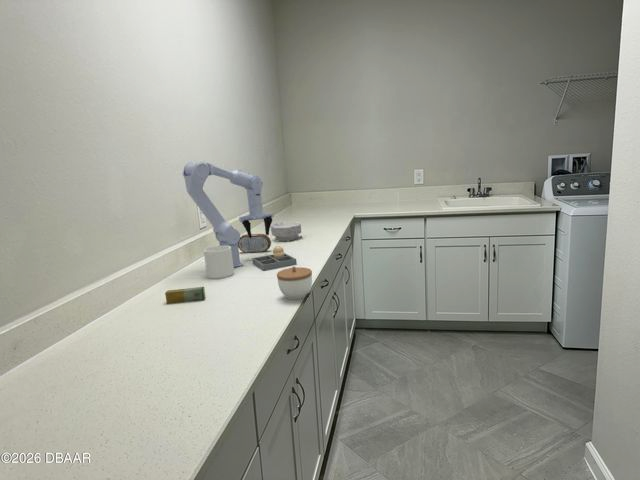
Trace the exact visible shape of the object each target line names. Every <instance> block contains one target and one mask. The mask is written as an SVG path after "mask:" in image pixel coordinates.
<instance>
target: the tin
mask: <svg viewBox="0 0 640 480" xmlns="http://www.w3.org/2000/svg"><path fill="white" fill-rule="evenodd" d="M251 236H252V238H249V237H248V233H247V234H243V235H240V240H239V242H238V249H239V250H240V251H241V252H242V253H244V254H253V253H254V254H255V253H256V254H257V253H265V252H267V251H269V249H270V248H271V245H272V241H271V238H270V237H269V235H266V233H251Z"/></svg>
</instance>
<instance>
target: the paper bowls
mask: <svg viewBox="0 0 640 480" xmlns="http://www.w3.org/2000/svg"><path fill="white" fill-rule="evenodd" d="M270 233H271V236H272V237H275V239H276V240H277V241H279V242H290V241H294V240H296V239H297V238H298V236H299V235H300V234H301V233H302V225H301V222H297V221H283V222H282V221H281V222H276V223H273V224H271V225H270Z"/></svg>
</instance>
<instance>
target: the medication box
mask: <svg viewBox="0 0 640 480" xmlns="http://www.w3.org/2000/svg"><path fill="white" fill-rule="evenodd" d="M164 295H165V302H166V304H167V305H168V304H169V305H170V304H171V305H172V304H178V303H179V304H180V303H191V302H201V301H202V302H203V301H205V300H206V299H207V297H206V296H207V295H206V290H205V286H200V287H187V288H179V289H169V290H168V289H167V290H166V291H165V292H164Z"/></svg>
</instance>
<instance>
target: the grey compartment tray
mask: <svg viewBox="0 0 640 480" xmlns="http://www.w3.org/2000/svg"><path fill="white" fill-rule="evenodd" d="M251 259H252V264H253V265H254V266H256V267H257V268H258V269H260V270H261V271H263V272H265V271H269V270H276V269H280V268H285V267H290V266H294V265H295V266H296V265H298V263H297V258H295V257H294V256H292V255H289V254H287V253H285V252H284V257H279V258H274V257H273V254H269V255H263V256H259V257H258V256H257V257H252V258H251Z"/></svg>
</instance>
